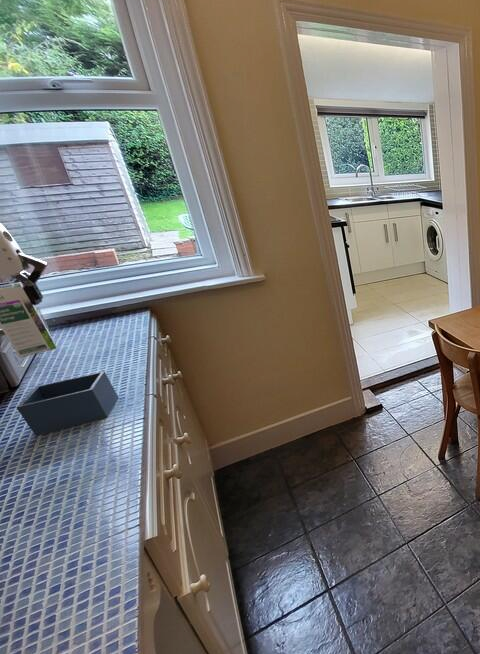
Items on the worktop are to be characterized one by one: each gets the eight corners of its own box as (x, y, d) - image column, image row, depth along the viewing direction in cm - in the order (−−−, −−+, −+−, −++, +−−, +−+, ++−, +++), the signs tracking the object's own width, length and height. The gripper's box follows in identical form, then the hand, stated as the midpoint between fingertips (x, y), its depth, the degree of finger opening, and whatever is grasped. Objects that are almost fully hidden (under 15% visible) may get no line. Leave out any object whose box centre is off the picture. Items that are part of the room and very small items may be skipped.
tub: (35, 436, 90) (16, 407, 87) (53, 413, 98) (35, 386, 95) (107, 417, 95) (91, 389, 92) (118, 397, 103) (104, 371, 100)
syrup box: (19, 358, 86) (-22, 292, 80) (18, 351, 89) (-21, 287, 83) (57, 349, 89) (21, 285, 83) (55, 342, 93) (20, 280, 87)
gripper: (31, 212, 85) (74, 293, 92) (-98, 222, 76) (-40, 311, 84) (16, 215, 79) (63, 303, 86) (-126, 227, 71) (-61, 322, 78)
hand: (12, 306), depth 85 cm, fingers closed on syrup box, 6 cm apart
